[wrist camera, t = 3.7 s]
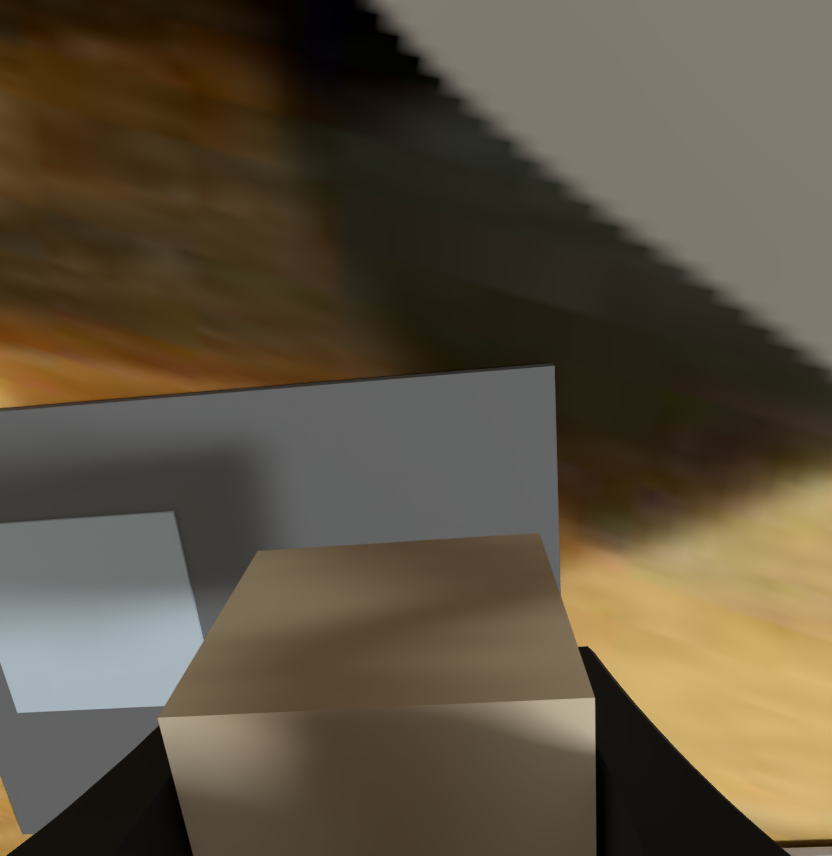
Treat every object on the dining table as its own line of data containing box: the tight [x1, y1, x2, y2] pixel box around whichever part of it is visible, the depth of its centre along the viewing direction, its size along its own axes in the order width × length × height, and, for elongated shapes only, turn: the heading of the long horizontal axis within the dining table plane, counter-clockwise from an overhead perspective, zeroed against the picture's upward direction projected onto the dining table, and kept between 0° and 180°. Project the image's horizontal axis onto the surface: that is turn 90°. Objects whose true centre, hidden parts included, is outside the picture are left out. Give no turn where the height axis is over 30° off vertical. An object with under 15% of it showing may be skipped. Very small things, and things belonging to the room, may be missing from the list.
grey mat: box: [0, 363, 561, 834], centre depth 20 cm, size 20×16×1 cm
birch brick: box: [158, 533, 596, 856], centre depth 9 cm, size 5×5×4 cm
